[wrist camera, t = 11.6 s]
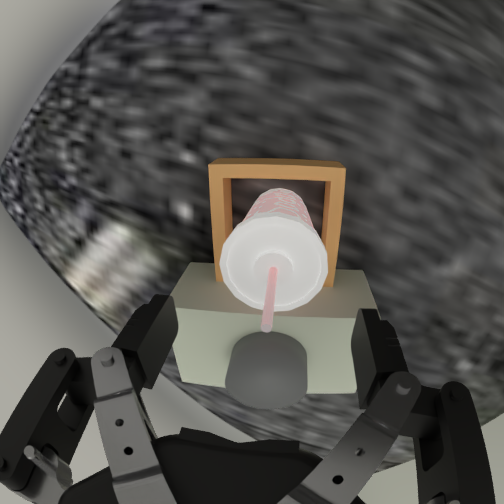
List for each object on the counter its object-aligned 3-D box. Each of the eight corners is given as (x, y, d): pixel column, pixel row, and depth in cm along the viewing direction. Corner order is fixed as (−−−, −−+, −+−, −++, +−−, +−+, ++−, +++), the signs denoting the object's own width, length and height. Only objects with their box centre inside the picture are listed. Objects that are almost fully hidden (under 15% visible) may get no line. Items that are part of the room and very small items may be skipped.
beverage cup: (329, 199, 23) (369, 302, 11) (295, 259, 26) (294, 388, 14) (261, 166, 23) (224, 235, 10) (231, 229, 26) (178, 344, 13)
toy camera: (180, 159, 23) (118, 191, 14) (377, 165, 21) (429, 201, 12) (200, 333, 31) (173, 405, 23) (346, 342, 30) (358, 419, 21)
